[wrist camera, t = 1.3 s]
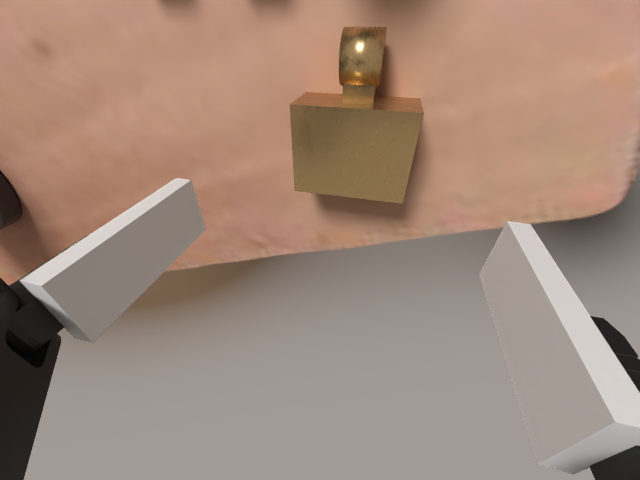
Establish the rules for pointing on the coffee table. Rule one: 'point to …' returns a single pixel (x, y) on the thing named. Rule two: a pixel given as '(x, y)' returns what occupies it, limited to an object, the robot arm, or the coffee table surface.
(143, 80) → the coffee table surface
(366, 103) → the gold knuckled block
